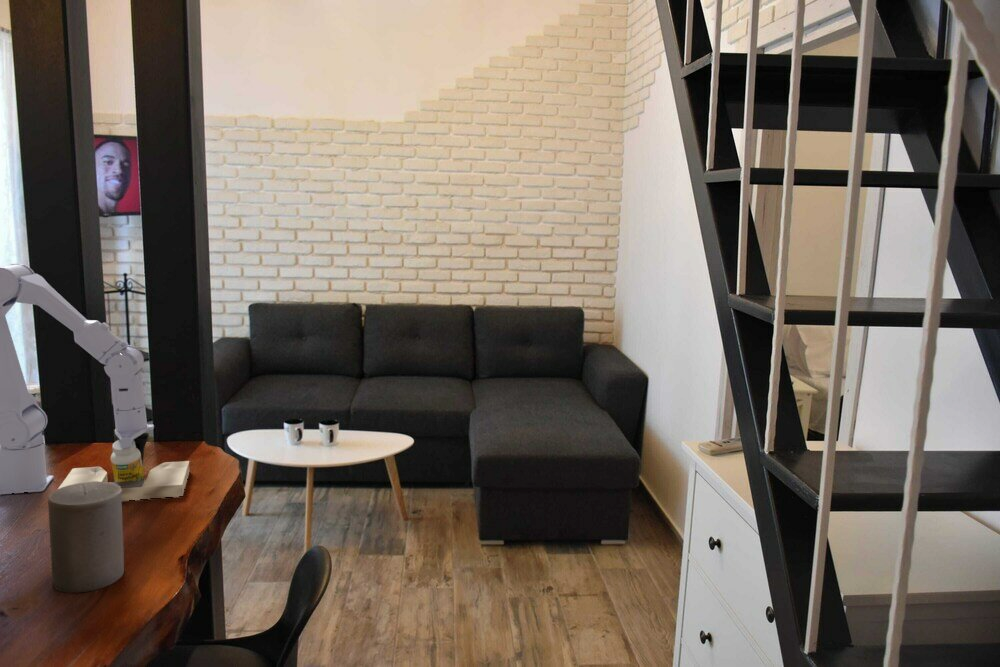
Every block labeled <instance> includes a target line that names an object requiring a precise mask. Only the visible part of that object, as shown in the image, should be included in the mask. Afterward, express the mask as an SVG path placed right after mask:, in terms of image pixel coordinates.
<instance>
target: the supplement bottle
mask: <svg viewBox="0 0 1000 667" xmlns="http://www.w3.org/2000/svg"><path fill="white" fill-rule="evenodd" d="M132 442H133V447H131V448H121V444H120V440H118V441H117V440H116V441H114V443H112V453H111V455H110V463H111V468H112V474H113V479H114V482H123V481H137V480H146V479H145V472H144V471H145V470H144V466H143V465H144V464H143V465H142V459H141V453H140V451H139V449H137V448H136V445H135V441H134V440H133V441H132Z"/></svg>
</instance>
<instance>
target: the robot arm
mask: <svg viewBox="0 0 1000 667" xmlns="http://www.w3.org/2000/svg"><path fill="white" fill-rule="evenodd" d="M16 303H18V304H19V303H20V304H26V305H35V306H38V307H40V308H41V309H42V310H43V311H45V312H46V313H48V314H49V315H50V316H52V317H53V318H54V319H55V320H57V321H58V322H60V323H61V324H62V325H63V326H65V327H66V328H68V329H69V331H70V330H71V331H72V332H73V340H74V343H75V344H77V345H79V347H81V348H82V349H83V350H85V352H87V353H88V354H90V355H91V356H92V357H93V358H94V359H96V360H97V361H98V362H99V363H100V364H102V365H104V366H103V369H104V372H105V374H106V375H107V376H108V377H109V378H110V383H111V384H110V385H111V387H110V388H111V389H110V390H111V397H112V398H111V399H112V407H113V415H114V423H115V426H114V427H115V429H114V433H115V435H116V437H117V439H116V441H118V440H120V444H121V448H131V447H133V442H132V441H133V440H134V441H135V445H136V448H137V449H139V451H140V453H141V459H142V465H144V456H145V448H146V445H147V441H148V440H149V437H150V433H149V432H148V431H153V430H154V428H155V425H154V424H150V423H149V424H148V422H147V421H148V420H147V412H146V411H147V410H146V400H145V391H144V383H143V377H142V370H141V369H142V367H143V366H144V363H145V358H144V355H143V353H142V351H140V349H139V348H138V347H137V346H134V345H131V344H129V343H128V342H127V341H126V340H122V339H121V338H120V337H118V336H117V335H116V334H115V333H113V332H112V331H111V330H110V329H109V328H110V325H109V324H108V323H107V322H102V323H101V322H100V321H99V320H95V319H94V320H93V319H92V320H91V319H87V318H86V317H85V316H84V315H83V314H81V313H80V312H79V311H78V310H77V309H76V308H75V307H74V306H73V305H71V303H70V302H69V301H67V300H66V299H65V298H64V297H63V296H62V295H61V294H60V293H58V291H56V289H55V288H53V286H51V284H50V283H48V282H47V281H46V279H45V278H44V277H43V276H42V275H40V274H38V273H35V271H34V270H33V269H32V268H31V267H29V266H28V265H26V264H23V263H10V264H9V265H3V266H0V495H12V493H14V494H25V493H24V492H28V493H39V492H44V490H45V489H46V488H47V487H48V485H49V484H50V483H51V482H52V481H53V479H54V475H47V467H46V465H47V464H46V453H45V452H46V450H45V437H44V436H43V433H42V432H43V431H44V430H45V429H46V428H47V425H48V415H47V414H46V412H45V411H44V410H43V409H42V408H41V407H40V405H39V404H38V400H37V398H36V397H35V396H34V395H33V394H31V393H30V392H29V391H28V390H29V389H28V387H27V383H26V380H25V376H24V374H23V369H22V367H21V363H20V361H19V357H18V354H17V351H16V346H15V343H14V340H13V337H12V334H11V331H10V327H9V324H8V319H7V317H6V316H7V314H8V313H9V311H10V310H11V309H12V308H13V306H14V305H15V304H16Z"/></svg>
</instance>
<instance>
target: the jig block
mask: <svg viewBox="0 0 1000 667" xmlns="http://www.w3.org/2000/svg"><path fill="white" fill-rule="evenodd" d="M190 470H191V469H190V460H184V461H183V460H182V461H166V462H162V463H160V464H158V465H156V466H154V467H153V468H151V469H150V470H149V472H148V475H147V476H146V479H145V480H137V481H123V482H115V481H112V482H111V481H109V480H108V472H107V471H106V470H105V469H104V468H102V467H101V466H88V467H75V468H74V467H73V468H72V469H71V470H70V472H69V473H68V474H67V475H66V478H64V479H63V481H62V483H61V484H60V485H59V487H58V488H57V489H59V488H62V487H65V486H68V485H73V484H77V483H84V482H91V481H98V482H108V481H109V483H113V484H117V485H118V486H120V487H121V489H122V492H121V496H122V502H130V501H129V500H135V501H141V500H140V499H148V500H151V499H150V498H161V499H166V498H165V497H173V498H180V497H179V496H184V492H185V490H186V487H187V484H188V480H187V479H189V475H190V473H189V472H190ZM184 489H185V490H184Z"/></svg>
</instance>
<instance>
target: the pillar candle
mask: <svg viewBox="0 0 1000 667" xmlns="http://www.w3.org/2000/svg"><path fill="white" fill-rule="evenodd" d="M109 482H110V481H109ZM109 482H98V481H91V482H84V483H77V484H73V485H68V486H65V487H62V488H59V487H58V488H59V489H58V488H57V489H55V490H54V491H53V492H51V493H50V494H49V496H48V500H47V501H48V502H47V503H48V525H49V544H50V560H51V574H52V576H51V577H52V581H51V582H52V587H53V588H54V589H55V590H57V591H58V592H62V593H67V594H71V593H72V594H73V593H77V594H79V593H86V592H92V591H97V590H101V589H102V588H105V587H108V586H110V585H112V584H114V583H115V582H117V581H119V579H121V578H122V577H123V575H124V572H125V558H124V556H125V554H124V530H123V529H124V528H123V525H124V524H123V506H122V505H123V504H122V503H123V501H122V496H121V492H122V489H121V487H120V486H118V485H117V484H113V483H109Z"/></svg>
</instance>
